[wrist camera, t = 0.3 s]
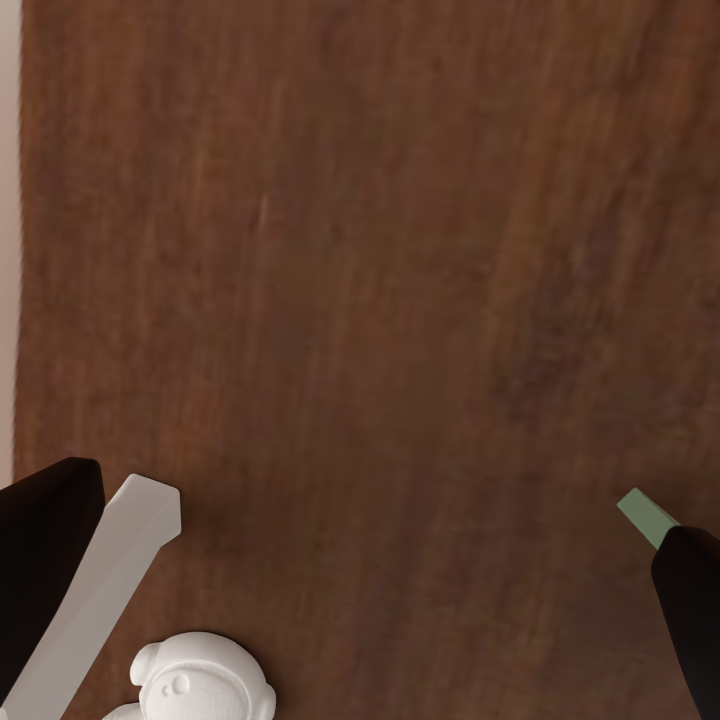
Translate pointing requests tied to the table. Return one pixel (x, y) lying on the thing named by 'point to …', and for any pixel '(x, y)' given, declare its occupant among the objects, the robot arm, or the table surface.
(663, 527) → the green flat slab
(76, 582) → the perfume bottle
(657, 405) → the table surface
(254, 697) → the astronaut figurine
